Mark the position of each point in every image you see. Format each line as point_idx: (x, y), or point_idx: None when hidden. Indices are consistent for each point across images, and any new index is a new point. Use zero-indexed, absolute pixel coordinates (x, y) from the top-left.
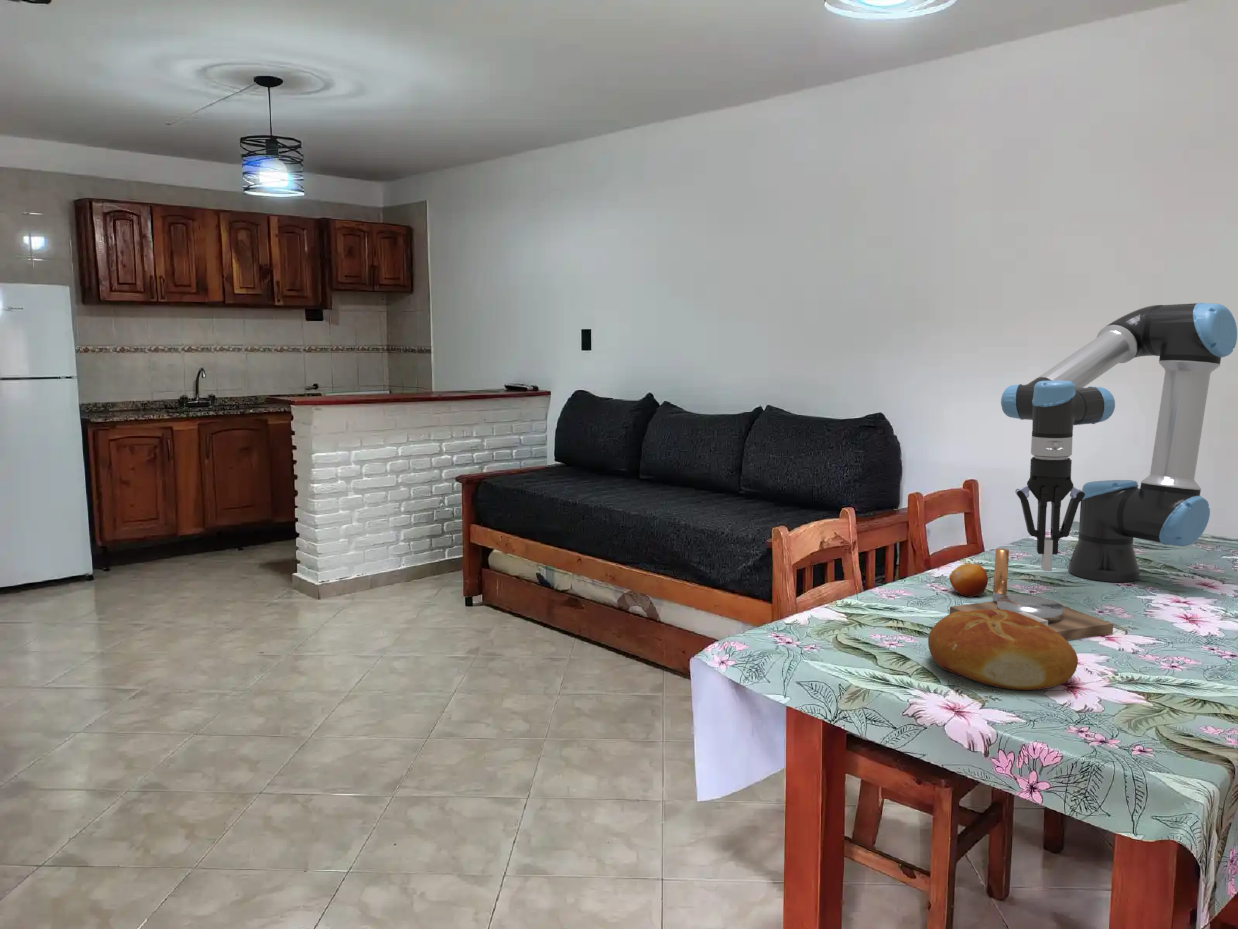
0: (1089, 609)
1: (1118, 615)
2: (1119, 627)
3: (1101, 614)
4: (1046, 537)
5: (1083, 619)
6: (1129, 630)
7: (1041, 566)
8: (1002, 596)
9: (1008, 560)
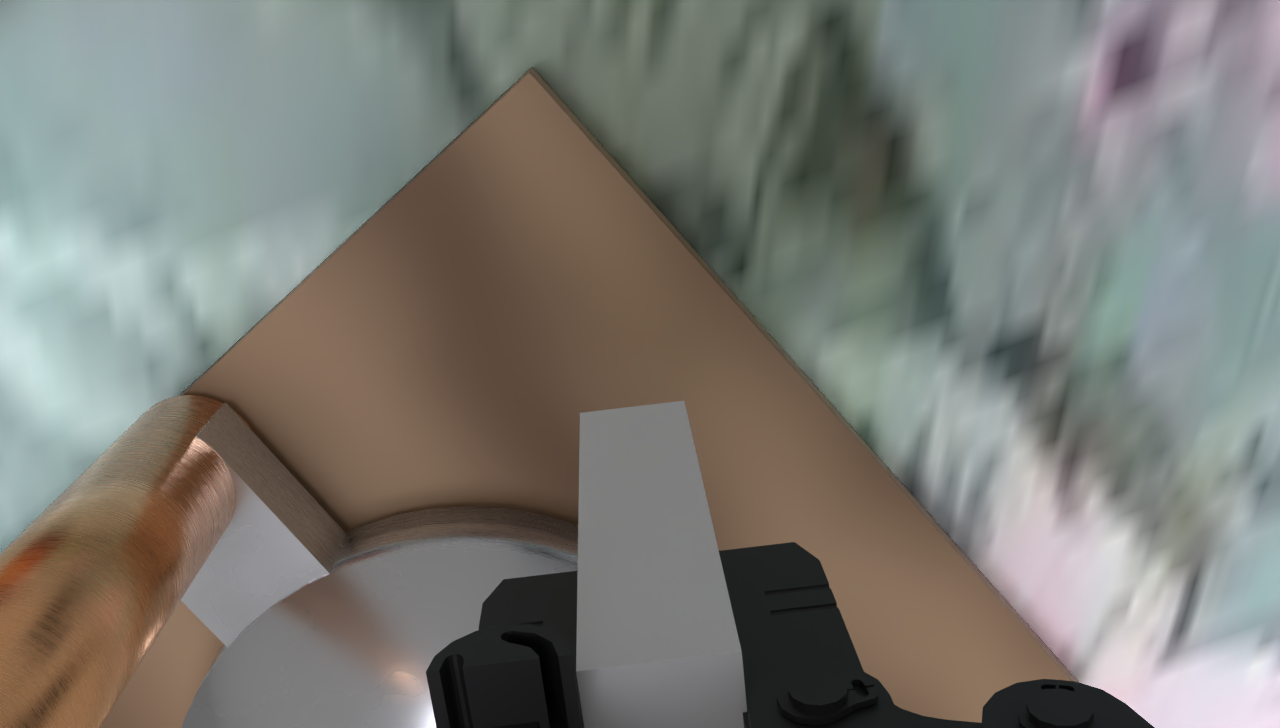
0: (1048, 14)
1: (1265, 132)
2: (1172, 500)
3: (1121, 156)
4: (657, 686)
5: (903, 705)
6: (1227, 550)
7: (580, 423)
8: (206, 618)
9: (96, 715)
